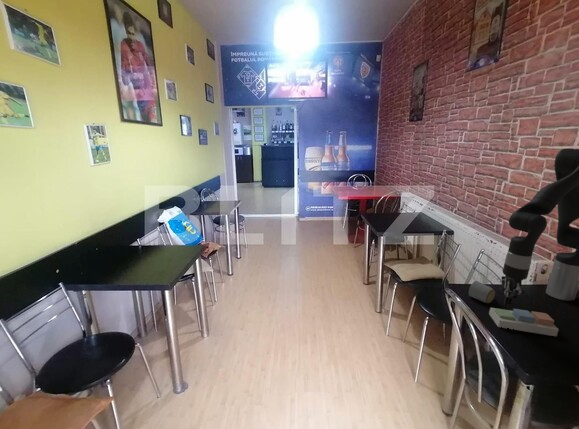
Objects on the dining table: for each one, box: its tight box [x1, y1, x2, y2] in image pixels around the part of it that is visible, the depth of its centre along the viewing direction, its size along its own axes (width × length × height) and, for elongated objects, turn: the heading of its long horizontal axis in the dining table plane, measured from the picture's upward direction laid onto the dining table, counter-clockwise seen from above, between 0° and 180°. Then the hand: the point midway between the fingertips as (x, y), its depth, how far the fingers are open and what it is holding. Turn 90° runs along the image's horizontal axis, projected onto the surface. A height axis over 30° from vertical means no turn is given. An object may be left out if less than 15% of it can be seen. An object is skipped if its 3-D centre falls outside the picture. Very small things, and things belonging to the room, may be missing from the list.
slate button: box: [512, 308, 535, 323], centre depth 112 cm, size 5×5×3 cm
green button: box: [494, 307, 515, 320], centre depth 114 cm, size 5×5×3 cm
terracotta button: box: [530, 311, 555, 326], centre depth 111 cm, size 5×5×3 cm
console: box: [488, 307, 560, 337], centre depth 113 cm, size 19×9×3 cm, turn 75°
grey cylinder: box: [468, 280, 496, 304], centre depth 130 cm, size 11×8×8 cm
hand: (507, 304), depth 113 cm, fingers closed
